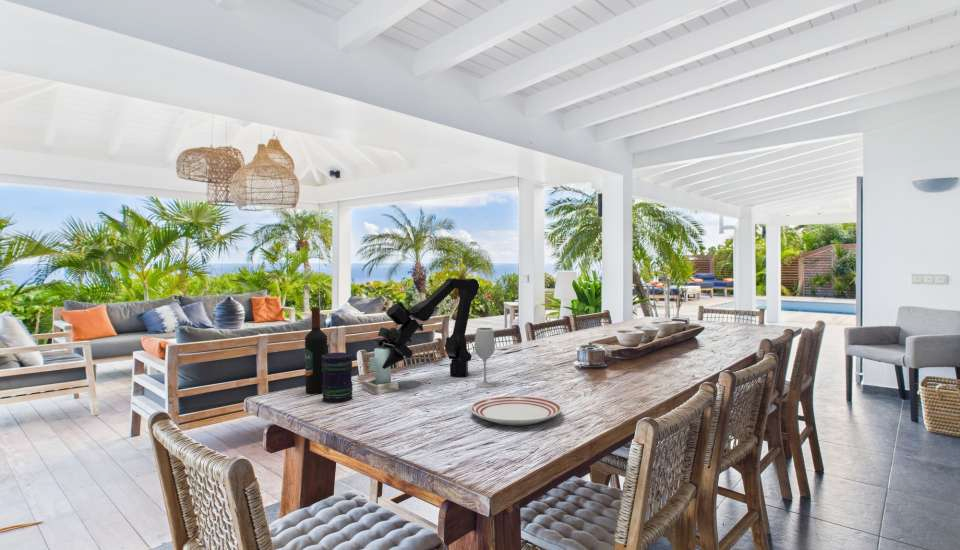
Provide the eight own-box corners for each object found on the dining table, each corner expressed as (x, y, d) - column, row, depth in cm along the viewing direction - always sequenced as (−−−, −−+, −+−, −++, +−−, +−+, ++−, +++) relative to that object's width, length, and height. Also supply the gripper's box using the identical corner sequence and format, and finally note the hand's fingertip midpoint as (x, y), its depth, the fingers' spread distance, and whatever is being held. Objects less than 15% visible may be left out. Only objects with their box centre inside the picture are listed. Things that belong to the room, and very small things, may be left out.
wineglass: (472, 386, 188) (471, 329, 188) (478, 382, 196) (477, 327, 195) (491, 388, 186) (491, 330, 185) (497, 383, 193) (497, 327, 193)
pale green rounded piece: (386, 381, 189) (385, 346, 188) (393, 384, 185) (393, 348, 184) (367, 385, 184) (366, 349, 183) (374, 388, 180) (373, 351, 179)
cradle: (384, 385, 191) (384, 377, 191) (398, 390, 183) (398, 382, 183) (361, 389, 185) (361, 381, 185) (375, 395, 177) (375, 386, 177)
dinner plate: (457, 409, 161) (457, 398, 161) (535, 400, 171) (535, 390, 171) (489, 437, 136) (489, 424, 136) (579, 425, 145) (579, 413, 145)
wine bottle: (324, 394, 179) (322, 308, 178) (302, 394, 179) (301, 308, 178) (330, 388, 186) (329, 306, 185) (310, 388, 186) (308, 306, 185)
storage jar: (345, 393, 179) (344, 351, 179) (357, 399, 172) (357, 355, 171) (317, 398, 173) (316, 354, 172) (329, 405, 165) (328, 359, 165)
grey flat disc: (425, 382, 196) (425, 381, 196) (416, 389, 185) (416, 388, 185) (397, 380, 198) (397, 379, 198) (387, 387, 187) (387, 386, 187)
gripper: (378, 316, 194) (352, 349, 187) (404, 321, 179) (377, 357, 173) (397, 335, 199) (372, 367, 192) (424, 341, 185) (398, 376, 178)
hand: (379, 366), depth 184 cm, fingers closed on pale green rounded piece, 6 cm apart
